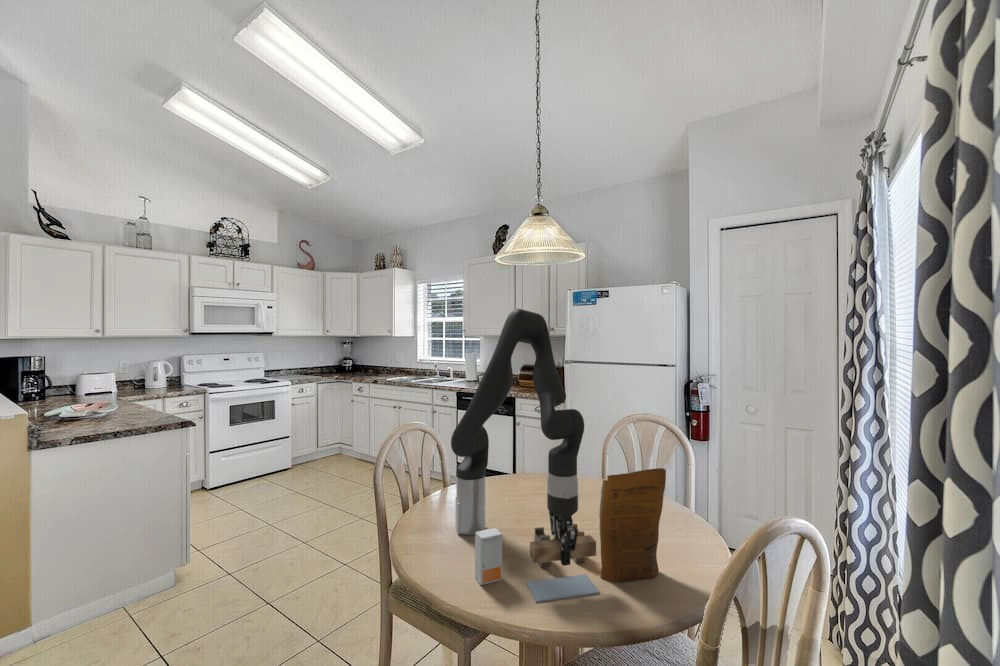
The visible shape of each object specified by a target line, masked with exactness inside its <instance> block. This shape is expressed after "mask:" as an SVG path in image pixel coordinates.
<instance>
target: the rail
mask: <svg viewBox="0 0 1000 666" xmlns="http://www.w3.org/2000/svg"><path fill="white" fill-rule="evenodd" d="M564 541H565V540H564ZM529 556H530V557H529V558H531V561H532V562H533V564H538V563H541V562H550V563H551V562H555V561H561V543H560V540H559V539H554V538H553V539H550V540H543V541H535V540H534V541H530V542H529ZM595 556H597V541H596V540H595V539H594V537H593V536H591V535H590V534H589V535H584V536H578V537H577V541H576V546H575V551H570V560H573V559H574V558H582V557H585V558H587V557H588V558H589V557H595Z"/></svg>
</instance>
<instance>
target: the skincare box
mask: <svg viewBox="0 0 1000 666" xmlns="http://www.w3.org/2000/svg"><path fill="white" fill-rule="evenodd" d="M500 531H501V530H499V529H498V528H497V527H495V528H485V530H483V531H477V532H475V535H474V538H475V539H474V544H475V545H474V551H475V552H474V578H475V580H476V581H477V583H478V584H479V586H483V585H487V584H491V583H496V582H501V581H502V580H503V577H502V576H503V533H502V532H500Z"/></svg>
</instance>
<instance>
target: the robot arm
mask: <svg viewBox="0 0 1000 666" xmlns="http://www.w3.org/2000/svg"><path fill="white" fill-rule="evenodd" d="M518 343H524V344H529V345H530V347H532V349H533V351H534V354H535V362H534V365H533V368H532V382H533V386H534V389H535V391H536V395H537V397H538V400H539V409H540V429H541V431H542V433H543V435H544V436H545V437H546V438H547V439H548V440H552V441H555V440H557V441H558V440H562V442H561V444H559V445H557V446H555V447H553V448H551V449H549V452H548V458H547V459H548V462H547V464H548V469H547V470H548V471H547V472H548V473H547V479H546V480H547V481H546V482H547V484H546V485H547V488H546V490H547V492H546V493H547V494H546V495H547V499H546V500H547V501H546V502H547V505H546V507H547V510H548V514H549V521H550V523H549V524H550V530H551V531H550V532H551V536H553V539H559V540H560V543H561V560H560V564H561V565H562V566H569V565H571V559H570V551H575V546H576V541H577V535H578V532H577V530H573V528H572V527H573V524H574V521H573V515H574V514H576V513H577V512H578V511H579V478H578V455H579V451H580V448H581V443H582V440H583V438H584V437H583V436H584V432H585V420H584V417H583V415H582V413H581V412H580V411H579V410H578V409H575V408H569V409H568V408H567V409H557V410H556V407H558V406H561V405H562V404H563V403H565V401H566V399H567V393H566V390H565V388H564V385H563V383H562V379H561V378H560V375H559V372H558V369H557V366H556V362H555V359H554V354H553V348H552V342H551V337H550V333H549V328H548V325H547V321H546V319H545V318H544V316H542V315H541V314H540V313H537V312H533V311H531V310H530V311H529V310H526V309H522V308H515V309H512V311H510V313H509V314H508V316H507V317H506V320H505V322H504V324H503V327H502V329H501V332H500V334H499V337H498V341H497V344H496V346H495V348H494V352H493V353H492V356H491V359H490V360H489V363H488V365H487V367H486V369H485V371H484V373H483V375H482V376H481V378H480V381H479V382H478V386H477V388H476V390H475V392H474V394H473V396H472V399H471V401H470V402H469V404H468V407H467V409H466V411H465V412H464V414H463V416H462V417H461V419H460V421H459V423H458V424H457V425H456V427H455V428H454V430H453V432H452V434H451V435H452V436H451V439H450V447H451V450H452V453H453V454H454V455H455V456H457V457H460V458H463V460H462V461H461V462H460V463H459V464H458V465H457V467H456V480H455V481H456V483H455V484H456V487H455V489H456V490H455V491H456V496H455V529H456V533H457V535H463V536H464V535H465V536H475V532H477V531H483V530H486V470H487V468H488V464H489V445H490V441H489V435H488V432H487V430H486V428H485V426H484V424H485V423H486V422H487V421H488V420H489V419H490V418H491V417H492V416H493V415H494V413H495V412H497V410H498V409H499V408H500V407H501V406H502V405H503V403H504V402H505V400H506V399H507V397H508V395H509V393H510V391H511V389H512V386H513V382H514V374H513V373H514V372H513V366H512V356H513V353H514V350H516V349H515V348H516V346H517V345H518ZM564 540H565V541H564Z"/></svg>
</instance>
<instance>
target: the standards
mask: <svg viewBox="0 0 1000 666" xmlns="http://www.w3.org/2000/svg"><path fill="white" fill-rule="evenodd" d="M572 528H573V530H577V532H578V535H577V537H578V536H585V531H584V530H582V531H580V530H579V529H578V524H577V523H573V527H572ZM543 540H551V536H550V535H549V534H546V533H545V528H544V527H534V541H543ZM585 559H586V557H582V558H574V559H572V560H573V562H574V563H575V565H576V564H584V563H585V562H586V561H585ZM537 564H538V565H539V567H540V569H545V568H551V561H550V562H541V563H537Z"/></svg>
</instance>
